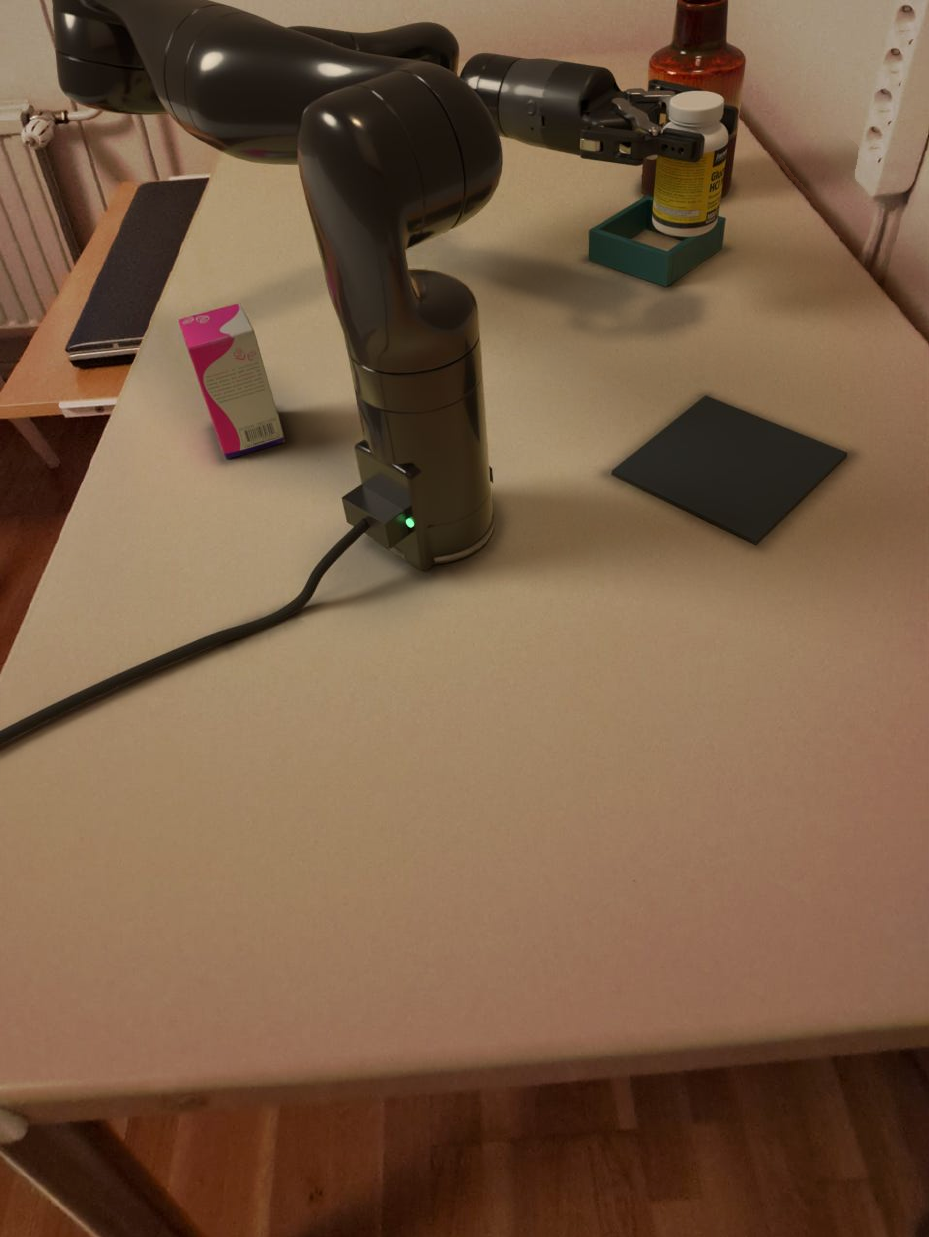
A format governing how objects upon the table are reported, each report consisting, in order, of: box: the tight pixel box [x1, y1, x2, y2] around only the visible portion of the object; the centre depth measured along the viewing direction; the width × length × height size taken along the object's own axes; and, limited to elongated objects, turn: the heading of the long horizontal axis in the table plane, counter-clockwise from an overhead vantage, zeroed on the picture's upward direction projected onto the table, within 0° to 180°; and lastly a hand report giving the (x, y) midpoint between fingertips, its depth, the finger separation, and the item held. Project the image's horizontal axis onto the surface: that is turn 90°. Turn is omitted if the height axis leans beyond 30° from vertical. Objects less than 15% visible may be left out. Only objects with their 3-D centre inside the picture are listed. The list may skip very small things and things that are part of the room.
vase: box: [640, 0, 747, 200], centre depth 109 cm, size 11×11×20 cm
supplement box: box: [178, 302, 286, 460], centre depth 84 cm, size 6×6×12 cm
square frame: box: [587, 195, 727, 288], centre depth 104 cm, size 11×11×4 cm
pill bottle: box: [652, 91, 728, 237], centre depth 86 cm, size 6×6×11 cm
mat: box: [610, 394, 848, 545], centre depth 79 cm, size 14×14×1 cm
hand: (718, 135), depth 83 cm, fingers closed on pill bottle, 6 cm apart
